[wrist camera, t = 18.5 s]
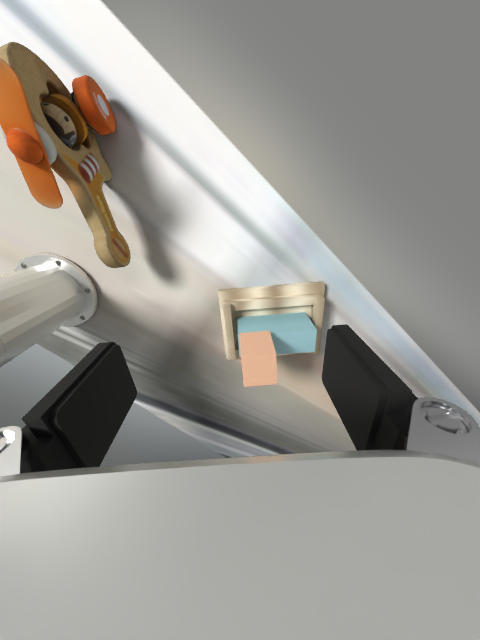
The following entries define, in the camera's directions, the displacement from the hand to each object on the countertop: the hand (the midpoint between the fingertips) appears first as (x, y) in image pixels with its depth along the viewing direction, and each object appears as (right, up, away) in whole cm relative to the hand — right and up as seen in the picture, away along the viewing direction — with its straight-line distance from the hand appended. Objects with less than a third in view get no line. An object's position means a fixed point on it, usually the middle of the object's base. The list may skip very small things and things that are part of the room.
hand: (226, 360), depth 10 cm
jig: (+6, +2, +31) cm, 32 cm away
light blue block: (+6, +1, +30) cm, 31 cm away
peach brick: (+3, -2, +24) cm, 24 cm away
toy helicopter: (-18, +22, +21) cm, 35 cm away
